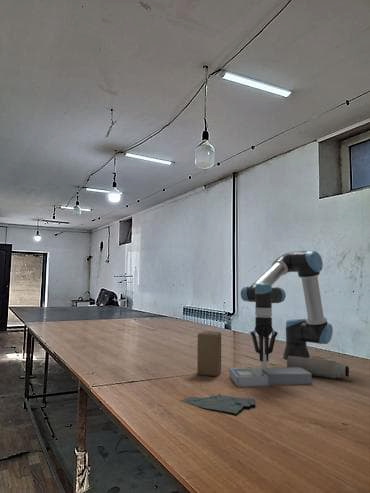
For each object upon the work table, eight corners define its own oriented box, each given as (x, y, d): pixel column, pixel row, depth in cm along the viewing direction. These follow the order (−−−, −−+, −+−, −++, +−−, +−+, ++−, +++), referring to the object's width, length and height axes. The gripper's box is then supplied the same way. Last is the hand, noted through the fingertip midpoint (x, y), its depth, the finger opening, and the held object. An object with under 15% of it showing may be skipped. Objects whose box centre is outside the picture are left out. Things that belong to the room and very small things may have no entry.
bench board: (300, 376, 176) (300, 367, 177) (311, 383, 165) (311, 373, 165) (260, 377, 174) (260, 367, 175) (268, 384, 163) (268, 374, 163)
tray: (257, 376, 176) (257, 367, 177) (268, 386, 161) (268, 376, 161) (229, 376, 175) (229, 368, 175) (237, 386, 159) (237, 377, 160)
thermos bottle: (290, 373, 188) (349, 382, 172) (285, 369, 182) (346, 377, 167) (292, 358, 191) (350, 365, 176) (288, 353, 186) (347, 360, 170)
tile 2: (257, 364, 172) (251, 365, 172) (261, 367, 166) (255, 368, 166) (257, 378, 171) (251, 378, 171) (261, 381, 165) (255, 381, 165)
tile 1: (237, 371, 171) (237, 378, 170) (240, 375, 165) (240, 381, 164) (249, 371, 171) (250, 378, 171) (253, 374, 165) (253, 381, 165)
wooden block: (221, 372, 184) (221, 331, 186) (216, 377, 175) (216, 334, 177) (202, 370, 187) (202, 330, 189) (196, 375, 178) (197, 333, 180)
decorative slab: (203, 422, 120) (203, 416, 120) (176, 400, 142) (176, 394, 142) (270, 412, 130) (270, 406, 130) (235, 392, 152) (235, 387, 152)
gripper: (274, 315, 176) (274, 366, 173) (247, 315, 174) (248, 366, 172) (279, 317, 168) (280, 370, 166) (252, 317, 167) (252, 370, 165)
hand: (264, 368), depth 169 cm, fingers closed
